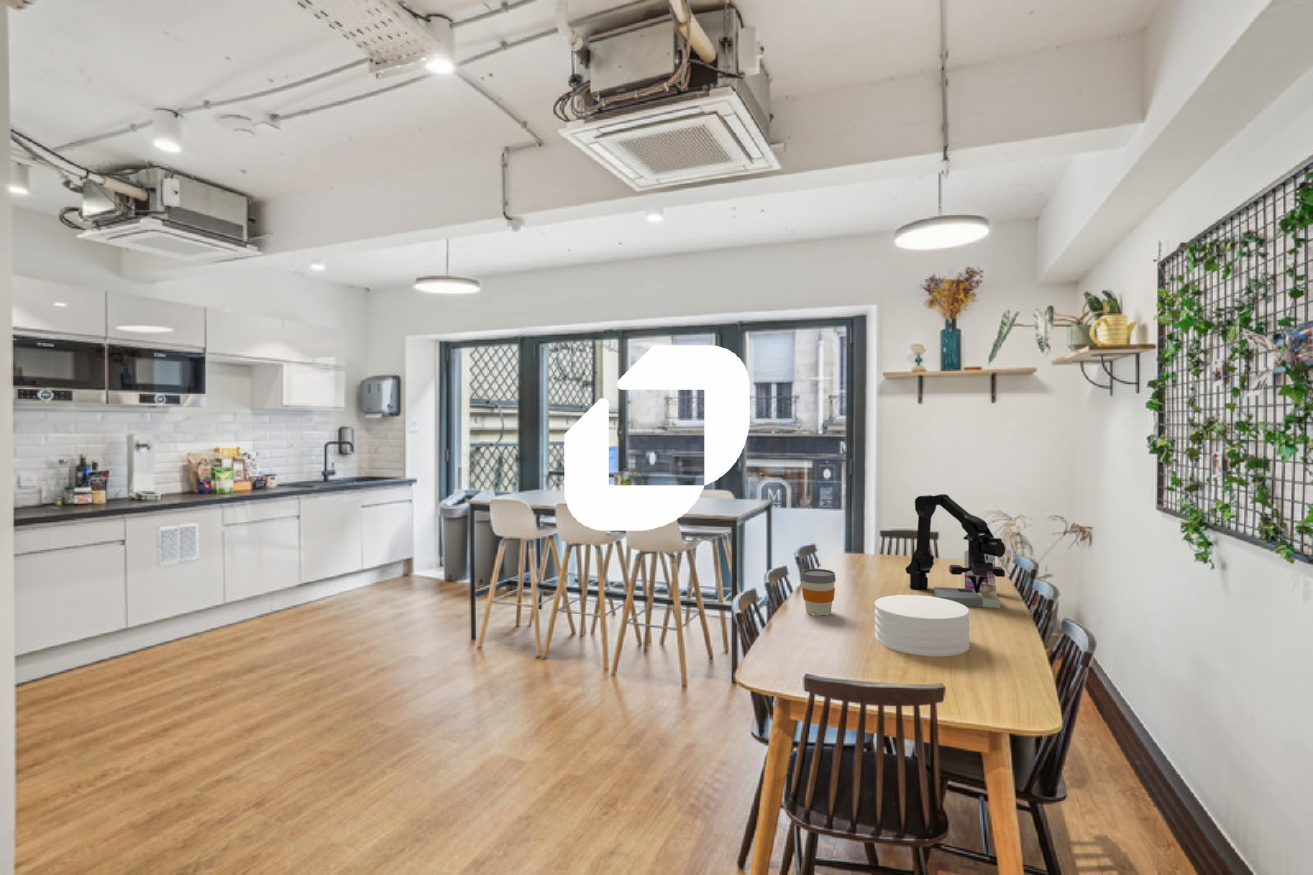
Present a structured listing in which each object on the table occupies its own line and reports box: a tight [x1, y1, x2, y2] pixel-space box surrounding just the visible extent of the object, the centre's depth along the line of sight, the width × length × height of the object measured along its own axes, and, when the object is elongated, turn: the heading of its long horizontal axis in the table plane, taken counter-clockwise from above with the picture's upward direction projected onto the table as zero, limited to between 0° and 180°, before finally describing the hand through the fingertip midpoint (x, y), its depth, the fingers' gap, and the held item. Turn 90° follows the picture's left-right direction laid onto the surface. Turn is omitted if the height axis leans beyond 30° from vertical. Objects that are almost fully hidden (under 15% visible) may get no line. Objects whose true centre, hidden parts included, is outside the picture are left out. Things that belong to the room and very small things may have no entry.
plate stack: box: [874, 594, 970, 657], centre depth 210 cm, size 28×28×12 cm
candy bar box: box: [964, 549, 996, 589], centre depth 272 cm, size 11×5×16 cm, turn 25°
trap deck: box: [933, 586, 1001, 609], centre depth 257 cm, size 21×16×3 cm
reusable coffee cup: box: [800, 568, 836, 616], centre depth 244 cm, size 13×13×15 cm
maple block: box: [981, 583, 997, 598], centre depth 252 cm, size 4×4×4 cm
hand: (976, 592), depth 253 cm, fingers closed
